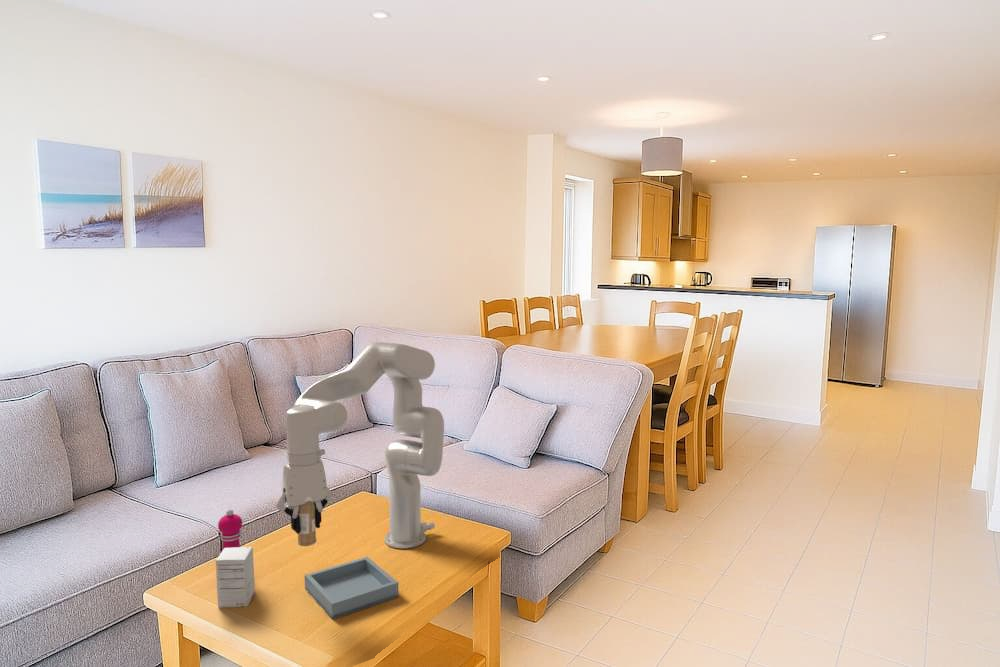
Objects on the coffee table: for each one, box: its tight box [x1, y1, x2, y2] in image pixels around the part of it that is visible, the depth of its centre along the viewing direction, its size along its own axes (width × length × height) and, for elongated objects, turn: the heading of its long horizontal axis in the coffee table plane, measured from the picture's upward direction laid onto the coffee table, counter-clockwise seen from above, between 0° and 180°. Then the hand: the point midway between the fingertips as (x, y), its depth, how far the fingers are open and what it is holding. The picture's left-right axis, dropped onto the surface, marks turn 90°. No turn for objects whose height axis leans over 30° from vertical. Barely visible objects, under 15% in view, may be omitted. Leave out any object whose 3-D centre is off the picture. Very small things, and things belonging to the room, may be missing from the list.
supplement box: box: [215, 546, 256, 608], centre depth 169 cm, size 7×7×13 cm
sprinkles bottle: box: [297, 497, 317, 547], centre depth 164 cm, size 5×5×14 cm
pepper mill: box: [217, 508, 243, 552], centre depth 179 cm, size 7×7×20 cm
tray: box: [304, 556, 399, 620], centre depth 174 cm, size 18×18×4 cm
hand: (306, 528), depth 165 cm, fingers closed on sprinkles bottle, 4 cm apart
